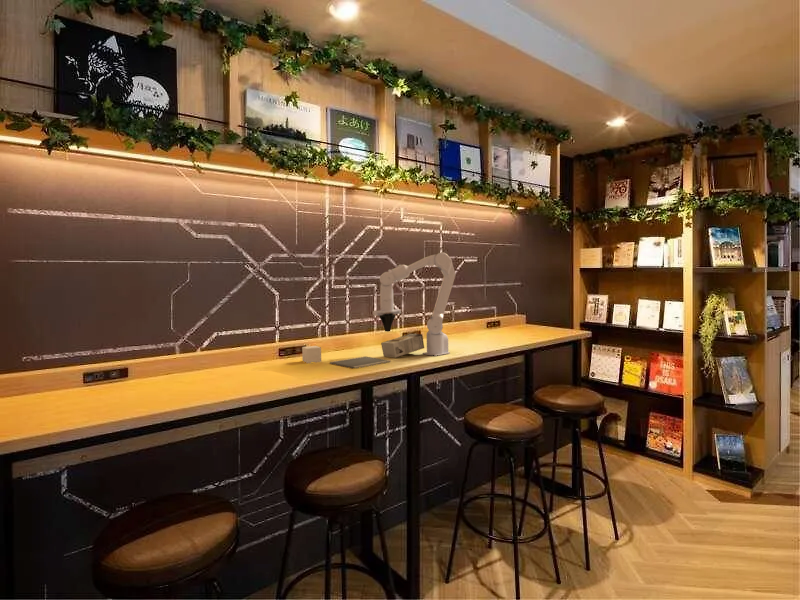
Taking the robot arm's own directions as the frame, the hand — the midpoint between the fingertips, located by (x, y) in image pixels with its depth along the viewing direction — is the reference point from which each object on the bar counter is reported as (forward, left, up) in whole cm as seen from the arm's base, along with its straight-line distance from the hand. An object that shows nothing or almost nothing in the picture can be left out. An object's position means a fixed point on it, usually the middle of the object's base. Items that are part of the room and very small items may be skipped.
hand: (387, 331), depth 200 cm
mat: (+20, +6, -10) cm, 23 cm away
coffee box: (+5, +6, -7) cm, 10 cm away
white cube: (+31, -12, -11) cm, 35 cm away
